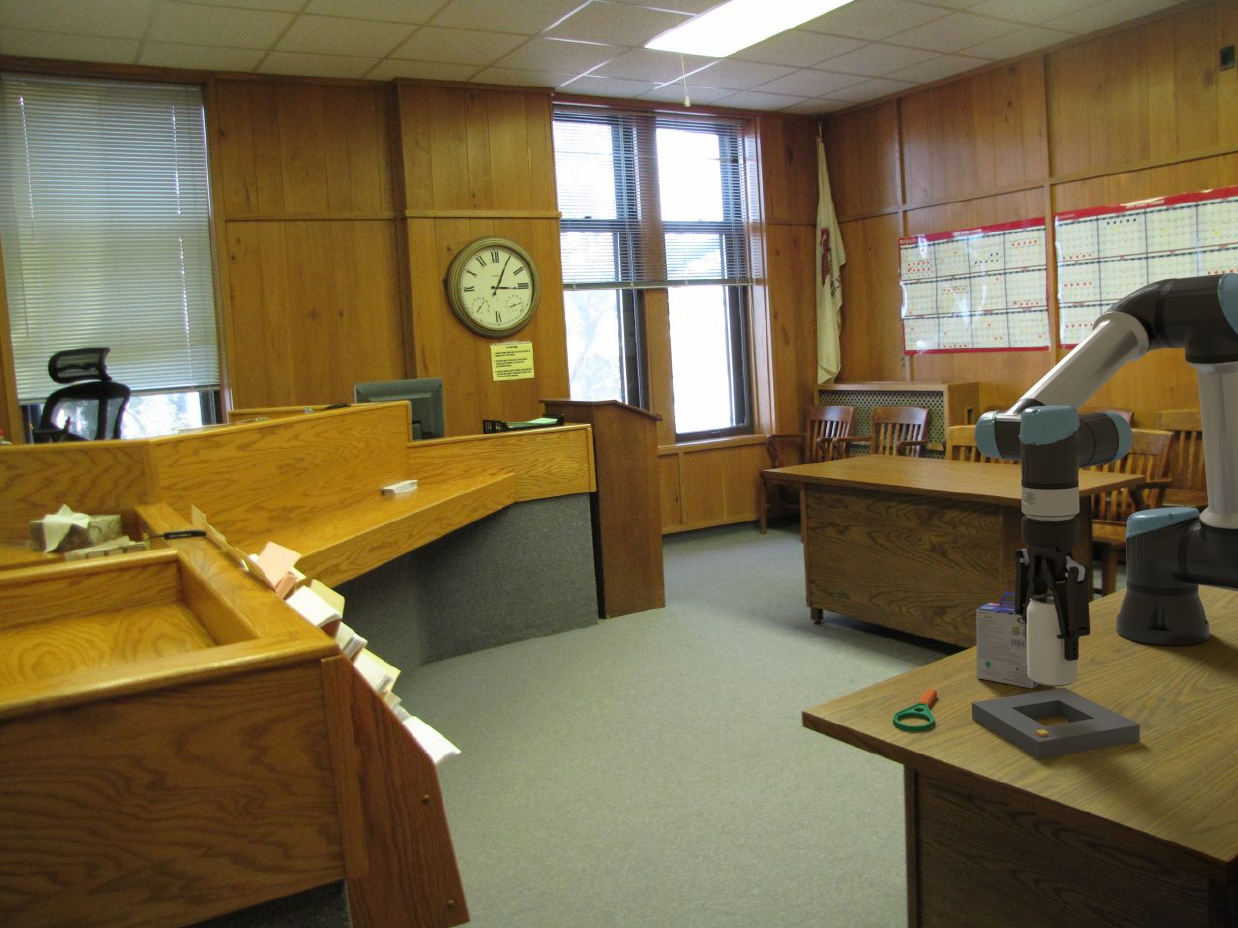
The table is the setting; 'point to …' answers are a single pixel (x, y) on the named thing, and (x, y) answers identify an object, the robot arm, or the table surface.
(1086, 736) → the socket block
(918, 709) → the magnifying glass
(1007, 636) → the ink cartridge box
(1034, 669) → the can
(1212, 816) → the table surface
